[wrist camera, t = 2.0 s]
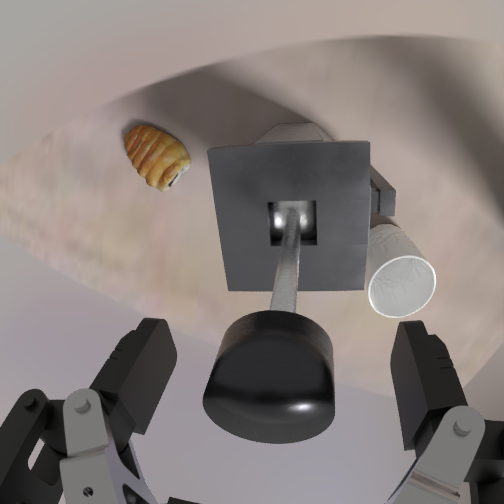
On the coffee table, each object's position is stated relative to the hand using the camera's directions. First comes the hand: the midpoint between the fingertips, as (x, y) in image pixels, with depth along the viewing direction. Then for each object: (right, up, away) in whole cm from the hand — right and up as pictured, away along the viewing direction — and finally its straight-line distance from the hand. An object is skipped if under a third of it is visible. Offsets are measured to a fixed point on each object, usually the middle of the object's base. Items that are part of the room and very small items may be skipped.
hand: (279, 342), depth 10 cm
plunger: (+2, +6, +11) cm, 12 cm away
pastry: (-13, +15, +28) cm, 34 cm away
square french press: (+6, +13, +25) cm, 29 cm away
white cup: (+17, +4, +29) cm, 33 cm away
